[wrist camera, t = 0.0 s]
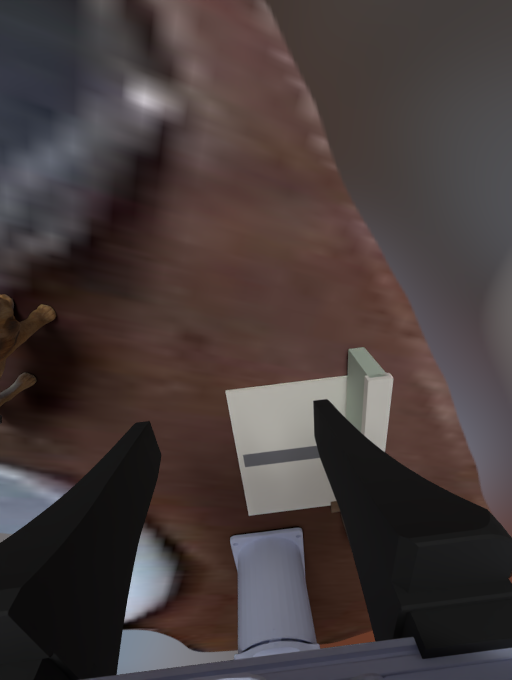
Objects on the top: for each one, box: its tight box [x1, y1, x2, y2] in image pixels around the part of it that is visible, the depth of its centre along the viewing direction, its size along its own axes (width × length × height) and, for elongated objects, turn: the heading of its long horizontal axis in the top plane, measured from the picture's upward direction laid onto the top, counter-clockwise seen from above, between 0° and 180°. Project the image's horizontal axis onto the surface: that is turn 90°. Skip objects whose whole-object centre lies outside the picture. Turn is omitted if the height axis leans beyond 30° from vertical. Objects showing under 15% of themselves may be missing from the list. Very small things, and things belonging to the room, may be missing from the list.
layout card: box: [226, 375, 348, 516], centre depth 28 cm, size 16×13×1 cm
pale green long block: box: [346, 347, 393, 452], centre depth 23 cm, size 12×2×4 cm, turn 6°
